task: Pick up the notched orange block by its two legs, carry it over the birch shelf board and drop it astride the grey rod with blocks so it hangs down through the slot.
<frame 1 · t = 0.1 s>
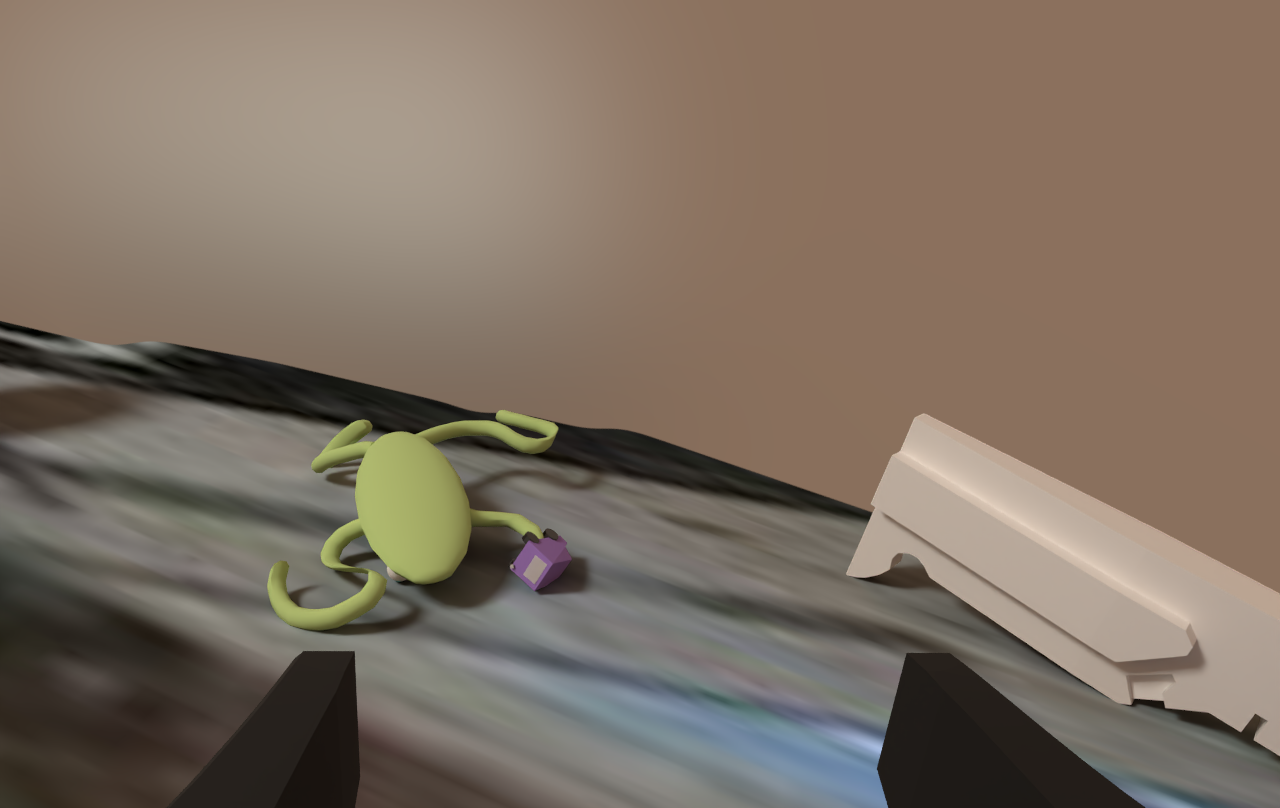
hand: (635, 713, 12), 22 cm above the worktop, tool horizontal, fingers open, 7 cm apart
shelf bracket: (1049, 661, 53), on the worktop
figurine: (430, 529, 63), on the worktop
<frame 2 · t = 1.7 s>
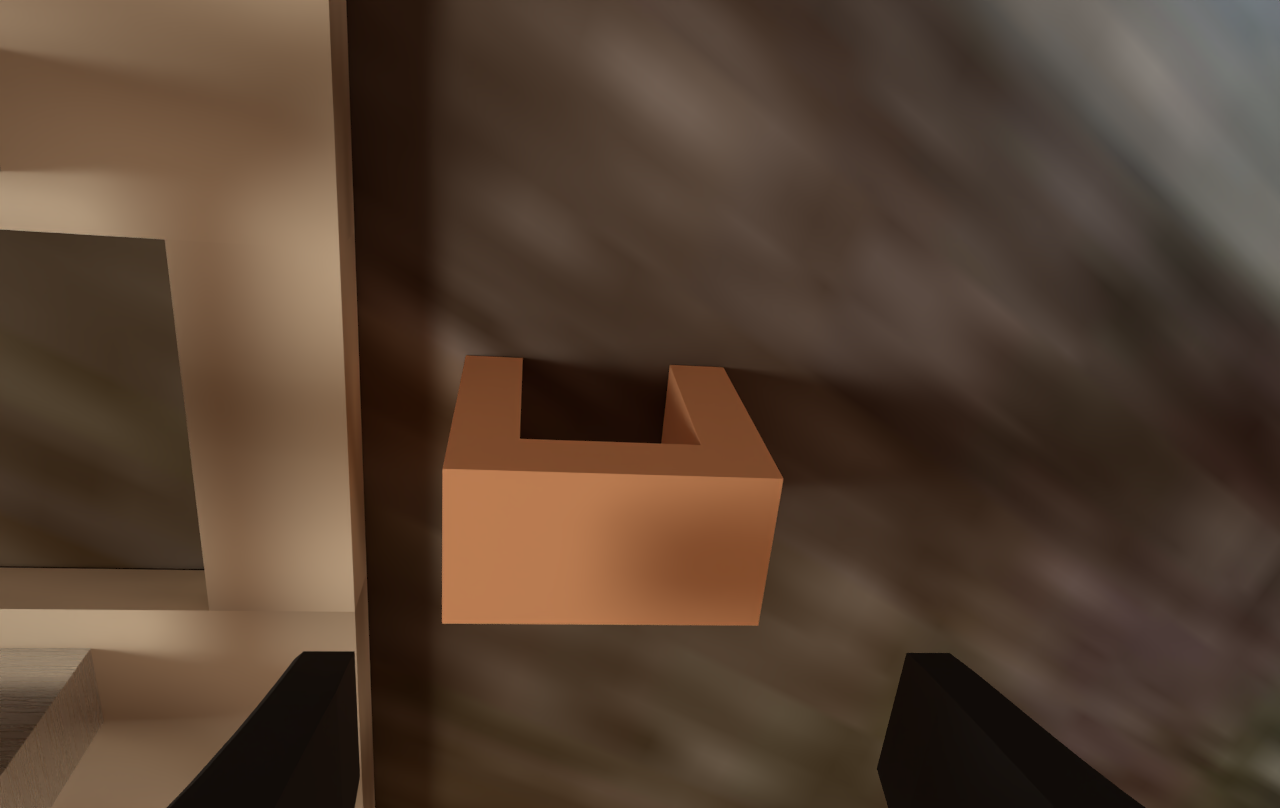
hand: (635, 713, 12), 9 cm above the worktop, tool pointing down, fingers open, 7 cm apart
grey rod with blocks: (8, 403, 18), resting on shelf board
notched orange block: (592, 424, 20), on the worktop
shelf board: (8, 403, 18), on the worktop
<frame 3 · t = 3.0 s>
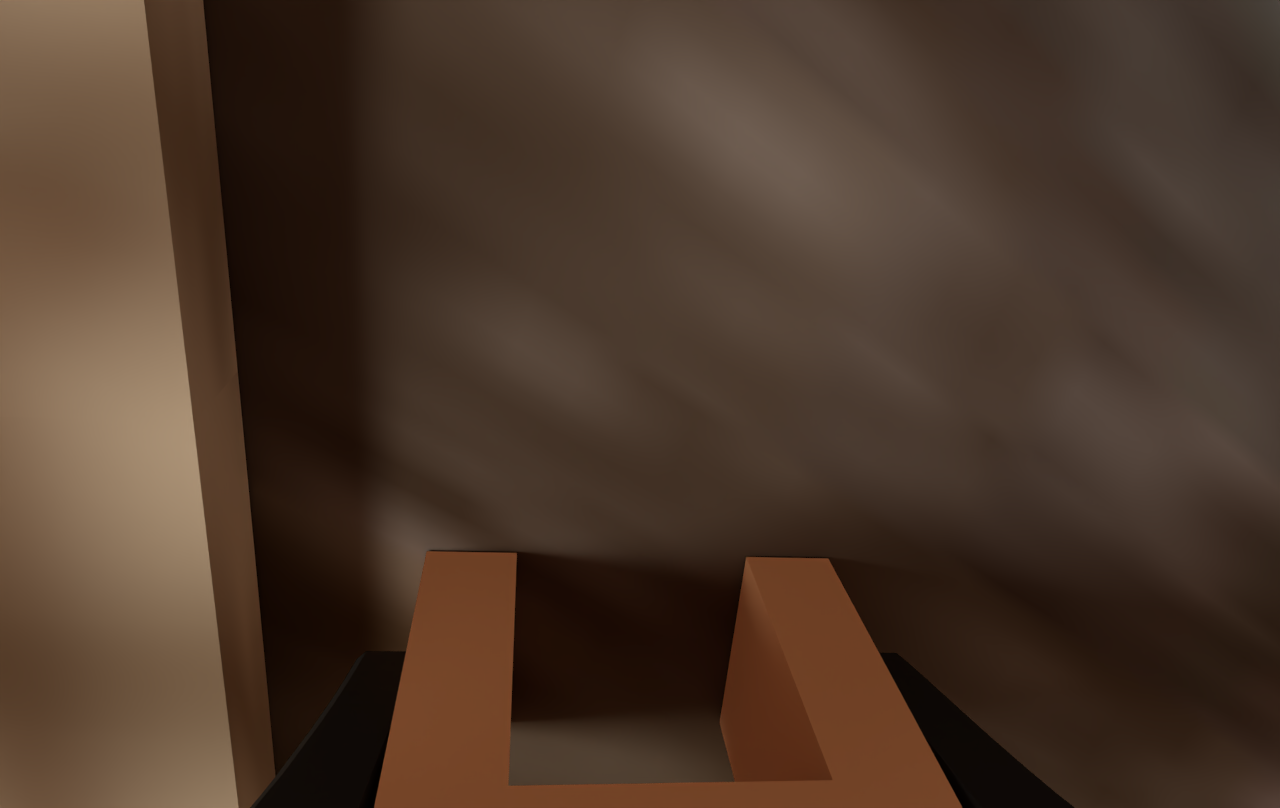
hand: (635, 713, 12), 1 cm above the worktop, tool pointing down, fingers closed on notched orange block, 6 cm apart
notched orange block: (624, 642, 13), on the worktop, touching gripper
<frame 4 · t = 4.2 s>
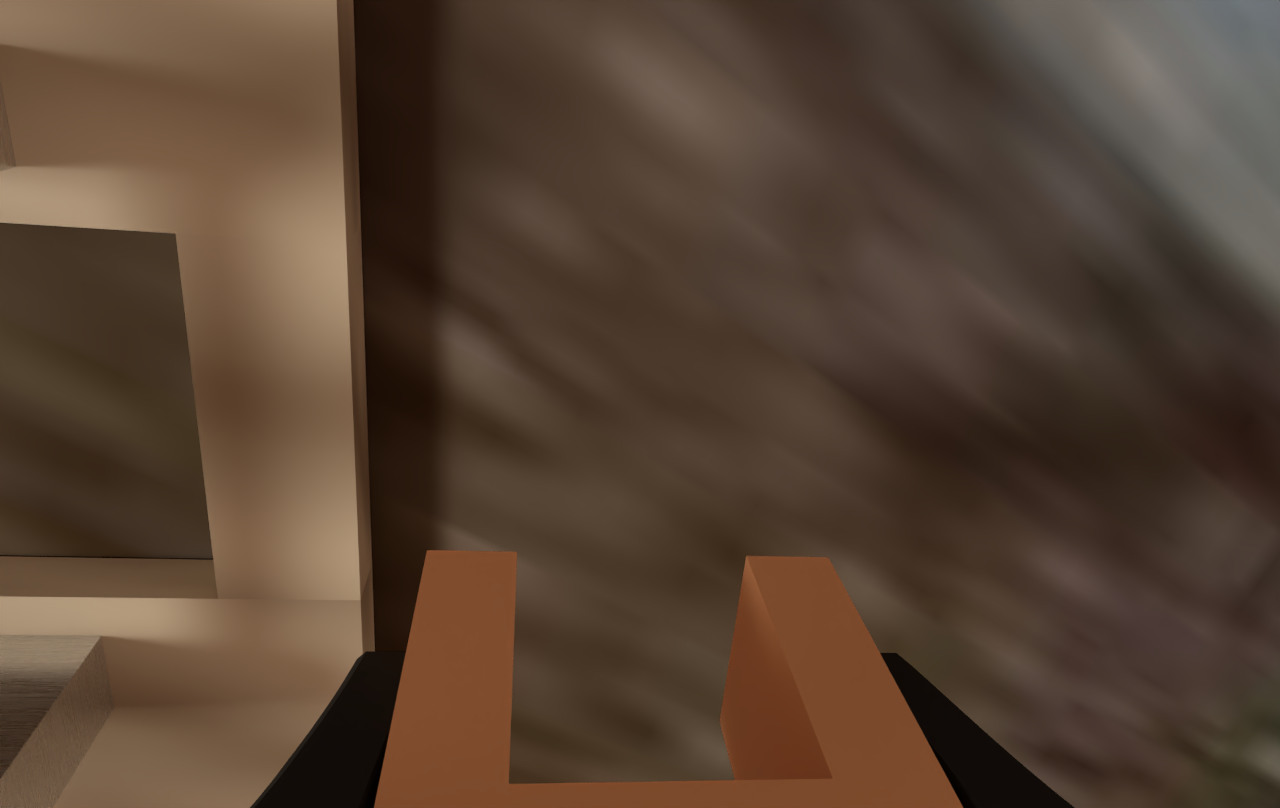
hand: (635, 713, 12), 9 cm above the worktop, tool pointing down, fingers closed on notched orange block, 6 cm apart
grey rod with blocks: (21, 394, 18), resting on shelf board
notched orange block: (624, 641, 13), point 8 cm above the worktop, touching gripper
shelf board: (21, 394, 18), on the worktop
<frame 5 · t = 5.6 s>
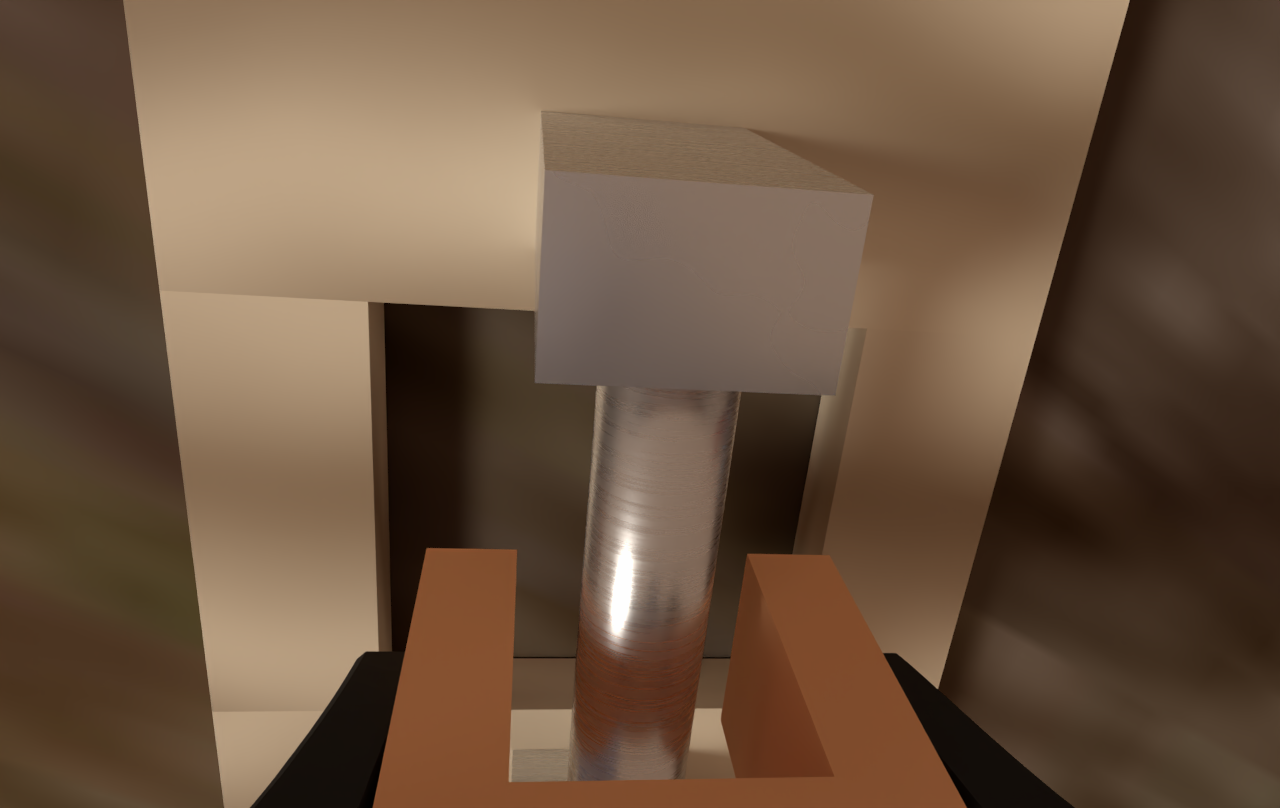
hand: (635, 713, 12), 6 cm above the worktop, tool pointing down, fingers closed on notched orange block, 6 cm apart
grey rod with blocks: (602, 490, 17), resting on shelf board
notched orange block: (625, 640, 13), point 5 cm above the worktop, touching gripper
shelf board: (602, 490, 17), on the worktop
when the fingers open (5 cm above the worktop, at t = 6.3 s): notched orange block drops 1 cm, resting on grey rod with blocks.
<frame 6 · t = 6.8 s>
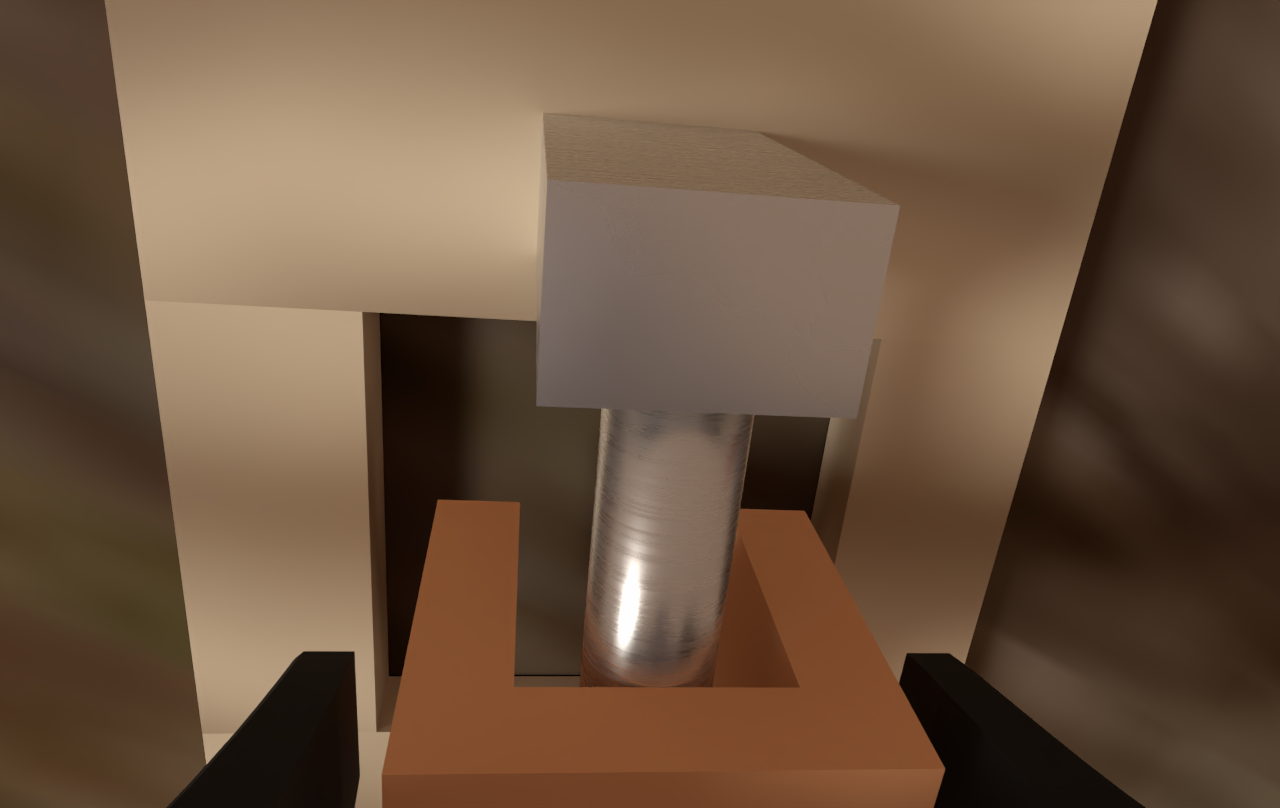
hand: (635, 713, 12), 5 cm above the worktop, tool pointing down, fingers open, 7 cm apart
grey rod with blocks: (605, 504, 16), resting on shelf board
notched orange block: (617, 588, 14), point 3 cm above the worktop, touching grey rod with blocks
shelf board: (605, 504, 16), on the worktop
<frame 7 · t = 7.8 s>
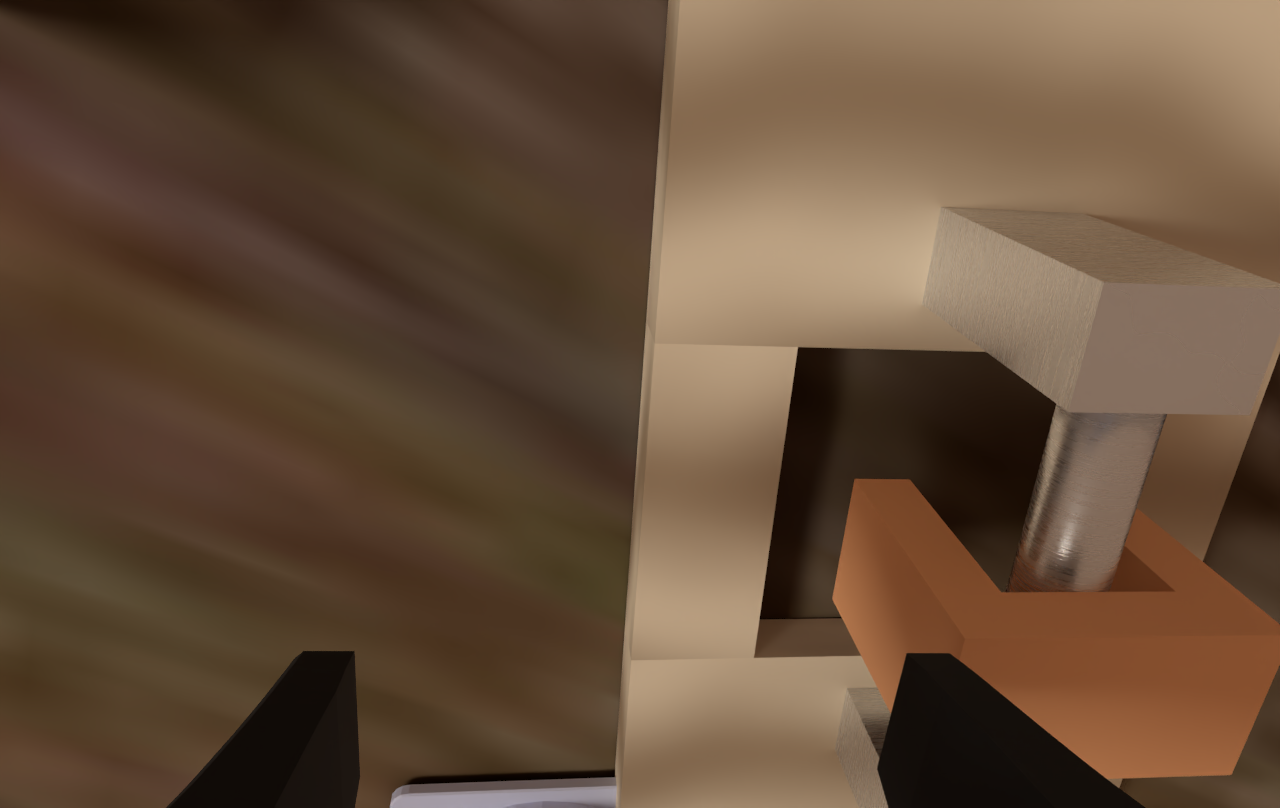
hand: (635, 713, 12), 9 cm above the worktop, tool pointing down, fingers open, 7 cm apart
grey rod with blocks: (917, 483, 22), resting on shelf board
notched orange block: (966, 541, 19), point 3 cm above the worktop, touching grey rod with blocks
shelf board: (917, 483, 22), on the worktop
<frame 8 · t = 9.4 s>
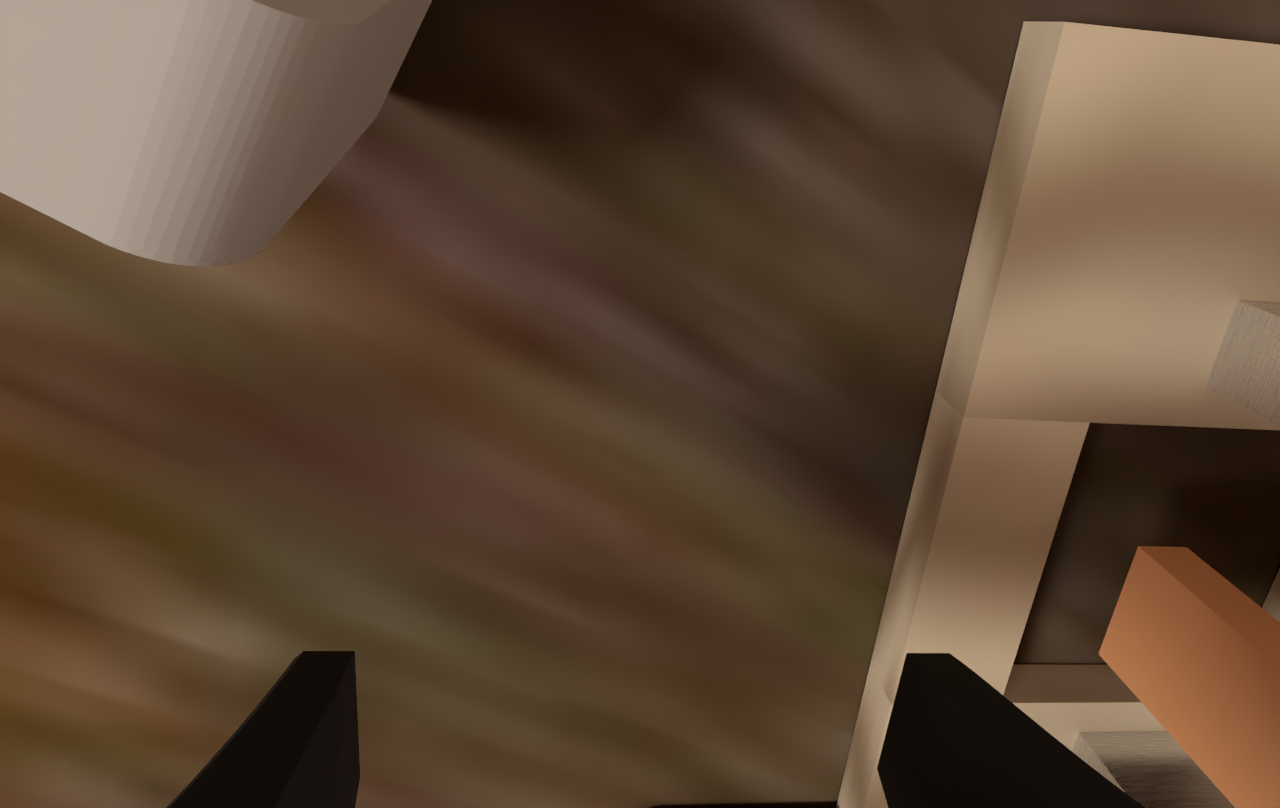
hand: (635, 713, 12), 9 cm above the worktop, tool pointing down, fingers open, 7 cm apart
grey rod with blocks: (1153, 542, 23), resting on shelf board
notched orange block: (1226, 603, 21), point 3 cm above the worktop, touching grey rod with blocks
shelf board: (1153, 542, 23), on the worktop
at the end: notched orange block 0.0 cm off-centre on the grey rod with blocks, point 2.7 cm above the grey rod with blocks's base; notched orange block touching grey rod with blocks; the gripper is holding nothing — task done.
